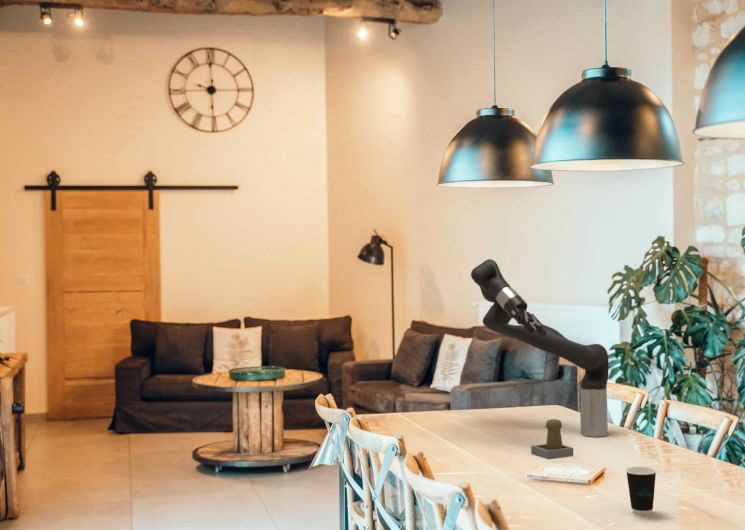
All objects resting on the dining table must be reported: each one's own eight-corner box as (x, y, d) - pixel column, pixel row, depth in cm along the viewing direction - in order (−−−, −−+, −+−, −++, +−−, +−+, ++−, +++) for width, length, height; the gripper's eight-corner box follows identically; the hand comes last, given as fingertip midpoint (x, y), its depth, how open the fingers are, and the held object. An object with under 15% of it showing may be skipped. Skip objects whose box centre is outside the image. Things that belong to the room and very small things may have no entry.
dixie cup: (644, 518, 243) (643, 474, 243) (620, 511, 250) (618, 469, 249) (664, 512, 248) (663, 470, 248) (640, 506, 254) (638, 465, 254)
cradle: (531, 453, 323) (531, 445, 323) (556, 450, 327) (556, 442, 327) (547, 459, 314) (547, 451, 314) (573, 455, 318) (573, 447, 318)
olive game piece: (542, 452, 320) (541, 420, 320) (551, 449, 324) (550, 417, 324) (558, 454, 316) (557, 421, 316) (567, 451, 321) (566, 419, 320)
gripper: (514, 313, 348) (541, 344, 339) (494, 306, 337) (521, 338, 328) (528, 298, 346) (555, 328, 337) (508, 291, 335) (536, 322, 326)
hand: (539, 333), depth 332 cm, fingers open, 8 cm apart
